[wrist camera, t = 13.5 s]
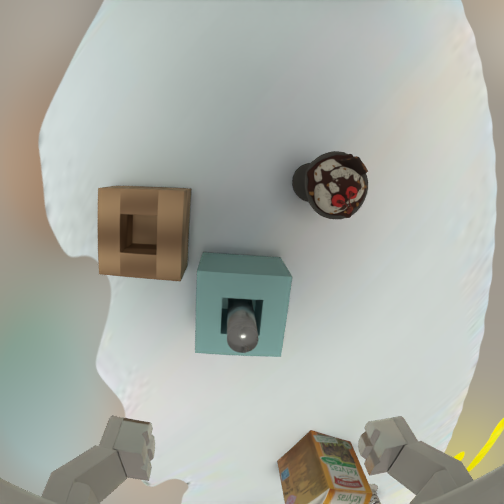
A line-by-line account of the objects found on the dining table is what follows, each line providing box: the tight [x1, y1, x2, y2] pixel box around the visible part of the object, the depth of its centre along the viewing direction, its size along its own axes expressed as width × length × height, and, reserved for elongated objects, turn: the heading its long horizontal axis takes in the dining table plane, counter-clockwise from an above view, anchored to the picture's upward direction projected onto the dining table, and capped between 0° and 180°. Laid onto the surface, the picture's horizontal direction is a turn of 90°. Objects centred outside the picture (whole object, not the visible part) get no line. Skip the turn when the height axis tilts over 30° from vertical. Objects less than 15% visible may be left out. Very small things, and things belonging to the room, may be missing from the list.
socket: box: [98, 186, 191, 281], centre depth 36 cm, size 10×10×6 cm
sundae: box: [293, 151, 368, 219], centre depth 32 cm, size 7×7×15 cm
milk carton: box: [277, 430, 373, 504], centre depth 42 cm, size 11×11×19 cm
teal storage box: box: [195, 252, 292, 357], centre depth 38 cm, size 10×10×8 cm
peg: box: [227, 298, 259, 353], centre depth 35 cm, size 3×3×12 cm
